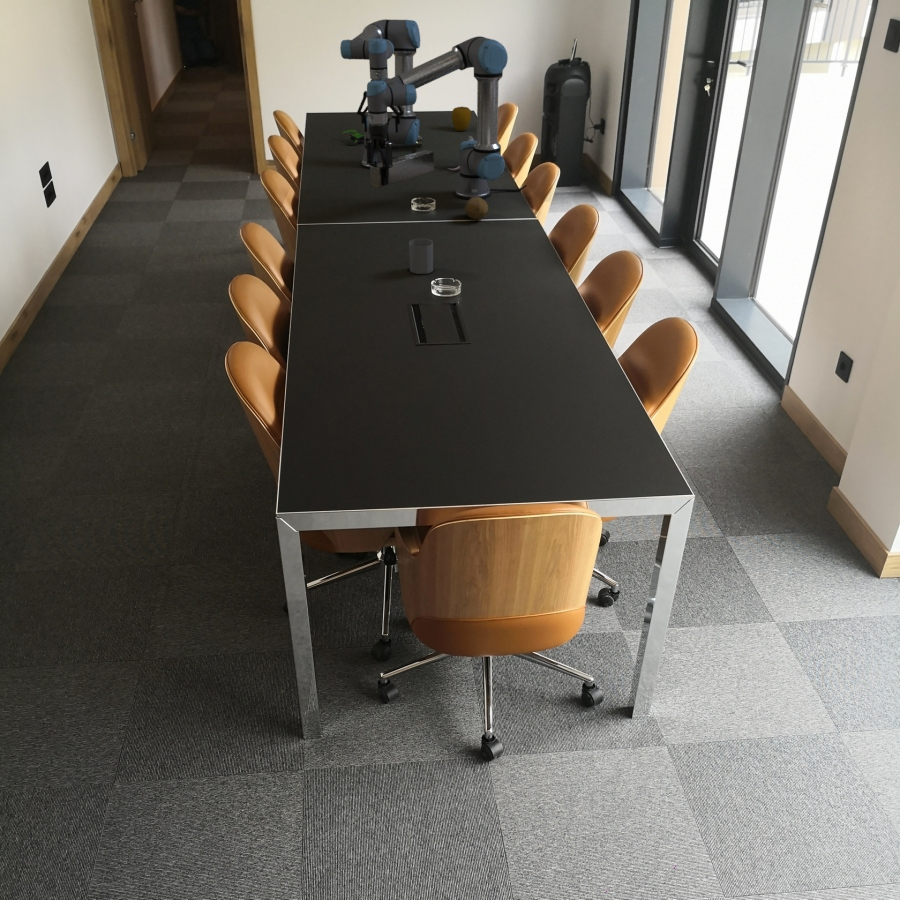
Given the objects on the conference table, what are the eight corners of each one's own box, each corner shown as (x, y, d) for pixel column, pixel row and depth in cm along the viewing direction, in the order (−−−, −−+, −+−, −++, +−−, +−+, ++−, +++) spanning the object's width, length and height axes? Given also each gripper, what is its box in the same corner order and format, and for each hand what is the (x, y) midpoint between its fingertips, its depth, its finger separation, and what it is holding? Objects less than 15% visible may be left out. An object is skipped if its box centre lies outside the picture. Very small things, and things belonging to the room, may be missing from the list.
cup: (409, 265, 311) (408, 238, 306) (432, 265, 312) (431, 238, 307) (410, 274, 304) (409, 246, 299) (433, 273, 305) (433, 246, 299)
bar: (425, 168, 374) (425, 149, 369) (433, 170, 371) (433, 151, 367) (370, 185, 352) (369, 165, 348) (379, 188, 350) (378, 168, 345)
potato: (486, 212, 363) (486, 193, 359) (489, 223, 352) (490, 203, 347) (463, 213, 363) (463, 194, 359) (465, 223, 351) (466, 204, 347)
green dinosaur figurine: (396, 126, 467) (340, 124, 465) (396, 141, 460) (339, 139, 458) (396, 136, 472) (341, 134, 470) (396, 151, 465) (340, 149, 463)
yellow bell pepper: (471, 132, 486) (471, 108, 479) (451, 132, 486) (451, 108, 479) (470, 128, 495) (471, 104, 488) (452, 128, 495) (452, 104, 488)
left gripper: (348, 80, 363) (351, 133, 375) (407, 81, 361) (408, 134, 373) (351, 77, 369) (354, 129, 381) (409, 78, 367) (410, 130, 379)
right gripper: (355, 121, 343) (358, 181, 355) (387, 128, 333) (389, 189, 345) (369, 118, 348) (372, 177, 360) (401, 125, 337) (402, 185, 350)
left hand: (381, 131), depth 377 cm, fingers open, 13 cm apart
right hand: (380, 183), depth 353 cm, fingers closed on bar, 5 cm apart
